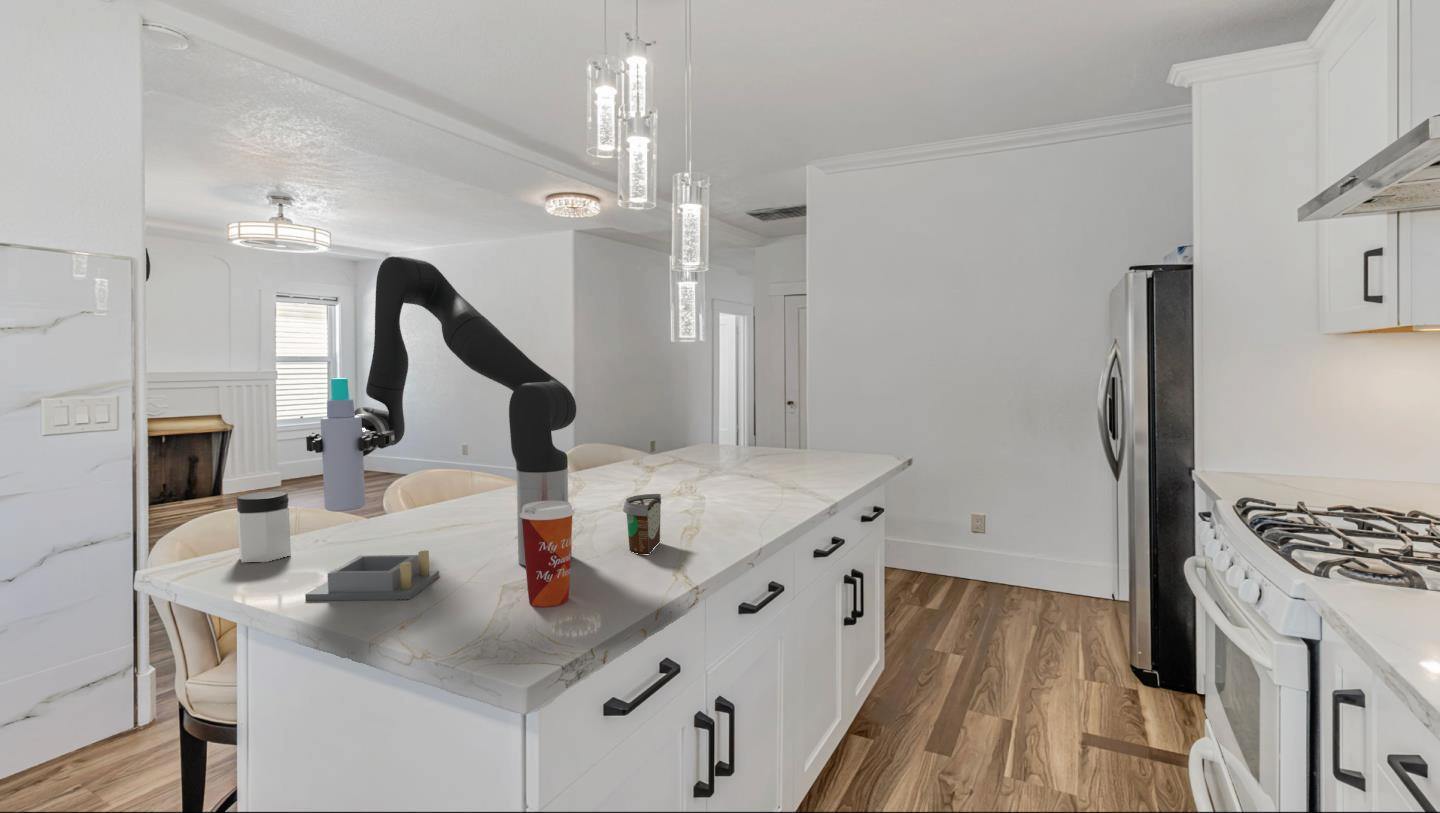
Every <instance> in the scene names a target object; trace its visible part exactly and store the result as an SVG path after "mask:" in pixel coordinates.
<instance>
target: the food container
mask: <svg viewBox="0 0 1440 813" xmlns="http://www.w3.org/2000/svg"><path fill="white" fill-rule="evenodd" d="M661 504H662V494H661V493H648V494H647V493H646V494H639V495H638V494H637V495H633V496H628V497H627V498H626V499H625V502H624V504H623V508H622V509H623V510H622V512H623V513H625V514H626V525H627V534H628V535H627V536H628V548H629V552H630V551H631V552H630V553H632V552H634V553H638V554H650V552H651V551H652V550H653V548H654V547H655V546H656V545H657V544H658V543H659V542H660V543H661ZM634 553H633V554H634ZM638 554H637V555H638ZM650 555H651V554H650Z"/></svg>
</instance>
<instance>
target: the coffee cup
mask: <svg viewBox="0 0 1440 813" xmlns="http://www.w3.org/2000/svg"><path fill="white" fill-rule="evenodd" d="M575 512H576V511H575V510H574V509H573V507H572V504H571V503H570V502H569V501H568V502H565V501H538V502H532V503H528V504H525V505H524V506H523V507H522V512H521V513H520V515H519V516H520V517H521V518H522V526H523V538H524V551H525V563H526V566H525V573H526V584H527V585H526V586H527V596H528V602H529V605H530V606H533V607H537V608H552V607H558V606H562V605H564V604H566V603H567V602H568V601H569V597H570V596H569V595H570V584H571V583H570V581H571V560H572V559H571V558H572V556H571V537H572V532H573V515H575V514H576V513H575ZM565 602H566V603H565ZM561 604H562V605H561Z"/></svg>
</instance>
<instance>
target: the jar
mask: <svg viewBox="0 0 1440 813" xmlns="http://www.w3.org/2000/svg"><path fill="white" fill-rule="evenodd" d="M289 502H290V501H289V496H288V492H285V491H261V492H260V491H259V492H254V493H246V494H243V495H239V496H238V497H236V506H237V507H236V510H237V512H236V514H237V532H238V535H237V537H238V555H239V559H240V562H241V564H244V563H243V562H261V563H270V562H269V561H271V562H273V561H272V560H274V561H277V560H276V559H278V560H281V559H280V558H282V559H284V558H283V557H285V558H288V557H287V556H289V557H291V556H292V552H291V551H292V547H291V546H292V545H291V525H290V524H291V522H290V508H289ZM290 555H291V556H290Z"/></svg>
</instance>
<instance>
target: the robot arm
mask: <svg viewBox="0 0 1440 813" xmlns="http://www.w3.org/2000/svg"><path fill="white" fill-rule="evenodd" d="M375 283H376V284H375V301H374V302H375V306H374V307H375V308H374V338H373V339H374V343H373V351H372V358H371V363H370V368H369V374H368V378H367V383H366V387H365V388H366V389H365V392H366V395H367V396H368V397H369V398H371V399H372V400H375V401H376V402H377V401H378V402H380V403H381V404H383V405H384V406H385V407H386V409H387V410H383V409H378V408H375V407H374V408H373V407H368V406H360V407H358V408H356V409H354V412H355V416H360V417H361V419H362V437H360V438H359V451H363V457H365V456H368V455H370V454H371V453H372V452H374V451H375V450H377V449H385V448H388V447H390V446H395V445H397V444H399V442H400V441H401V440H402V439H403V438H404V435H405V427H406V425H405V416H404V415H405V414H404V409H403V408H404V404H403V402H404V401H403V400H404V398H403V397H404V390H405V386H406V381H407V377H408V372H409V354H408V351H407V349H406V344H405V342H404V338H403V335H402V330H401V322H400V319H401V313H402V308H403V305H404V304H408V305H416V306H420V307H423V308H424V309H425V310H426V311H428V312H430V314H431V315H433V316H434V317H435V318H436V319H437V320H438V321H439V322H440V325H441V332H442V337H443V340H444V341H443V342H445V344H446V346H447V347H448V349H449V350H450V351H451V353H453V354H454V355H455V357H457V358H458V359H459V360H460V361H462V363H464V365H466V366H467V367H468V368H469V369H471V370H472V371H474V372H476V373H478V374H480V375H481V376H483V377H485V378H487V379H489V380H491V381H494V382H496V383H497V384H499V385H502V386H504V387H506V388H508V389H509V390H511V391H512V394H511V397H510V399H509V404H508V405H509V406H508V421H509V431H510V432H509V435H510V436H509V437H510V446H511V447H510V448H511V452H512V456H513V458H514V461H515V465H516V466H515V468H516V474H515V475H516V505H517V506H516V508H517V509H516V510H517V511H516V513H517V514H516V515H517V516H516V517H517V518H516V519H517V555H518V564H520V565H521V566H525V567H526V563H525V551H524V538H523V526H522V518H521V517H520V516H519V515H520V513H521V512H522V507H523V506H524V505H525V504H528V503H532V502H538V501H565V502H569V480H568V479H569V476H568V475H569V474H568V471H569V469H568V467H569V465H568V464H569V463H568V462H569V460H568V454H567V453H566V452H565V451H564V450H560V449H559V448H557V447H556V446H555V445H554V443H553V435H552V432H553V431H558V430H559V431H560V430H563V429H565V428H566V427H569V426H571V424H572V423H573V422H574V421H575V418H576V415H577V403H576V400H575V398H574V396H573V393H572V392H571V391H570V389H569V388H568V387H567V385H564V383H562V382H561V381H560V380H558V379H557V378H555V377H554V376H553V375H551V374H549V373H548V372H547V371H546V370H544V369H543V368H541V367H540V366H539V365H538V364H536V363H535V362H534V361H532V360H531V359H530V358H529V356H527V355H526V354H525V353H524V352H523V351H521V349H519V347H518V346H516V345H515V344H514V343H513V342H512V341H511V340H510V339H508V338H507V337H506V336H505V335H504V334H503V333H502V332H501V330H499V328H498V327H496V326H495V325H494V324H493V323H492V322H491V321H490V320H488V318H487V317H485V316H484V315H483V314H481V313H480V312H479V311H478V310H477V309H476V308H475V307H474V306H472V304H471V303H470V302H468V300H467V299H465V298H464V297H463V296H462V295H461V294H460V293H459V292H458V290H456V289H455V287H453V285H452V284H451V283H450V282H449V281H448V279H447V278H446V277H445V275H443V273H442V272H441V270H439V269H438V268H437V267H436V266H435V265H433V264H432V263H430V262H428V261H426V260H423V259H417V258H411V257H408V256H407V257H406V256H400V255H390V256H387V257H386V258H385V259H384V260H383V261H382V262H381V264H380V265H379V268H378V271H377V275H376V282H375ZM305 440H306V451H307V452H315V454H319V453H321V454H322V439H321V433H317V432H311V433H308V434H307V435H306V437H305ZM572 542H573V540H572V537H571V557H572V555H573V553H572V552H573V547H572V545H573V544H572Z"/></svg>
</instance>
